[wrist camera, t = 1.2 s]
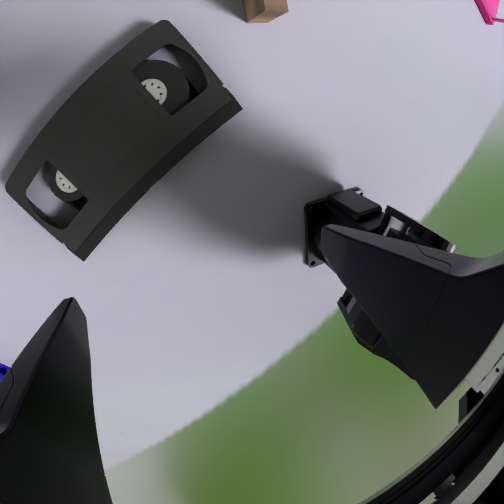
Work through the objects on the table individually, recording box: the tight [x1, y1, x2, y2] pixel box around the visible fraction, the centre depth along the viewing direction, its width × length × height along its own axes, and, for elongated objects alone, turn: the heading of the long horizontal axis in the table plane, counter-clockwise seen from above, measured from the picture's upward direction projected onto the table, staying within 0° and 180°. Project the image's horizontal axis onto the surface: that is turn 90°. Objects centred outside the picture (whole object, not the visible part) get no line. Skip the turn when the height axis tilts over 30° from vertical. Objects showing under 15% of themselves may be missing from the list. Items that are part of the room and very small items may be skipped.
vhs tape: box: [5, 20, 243, 261], centre depth 14 cm, size 14×8×2 cm, turn 126°
